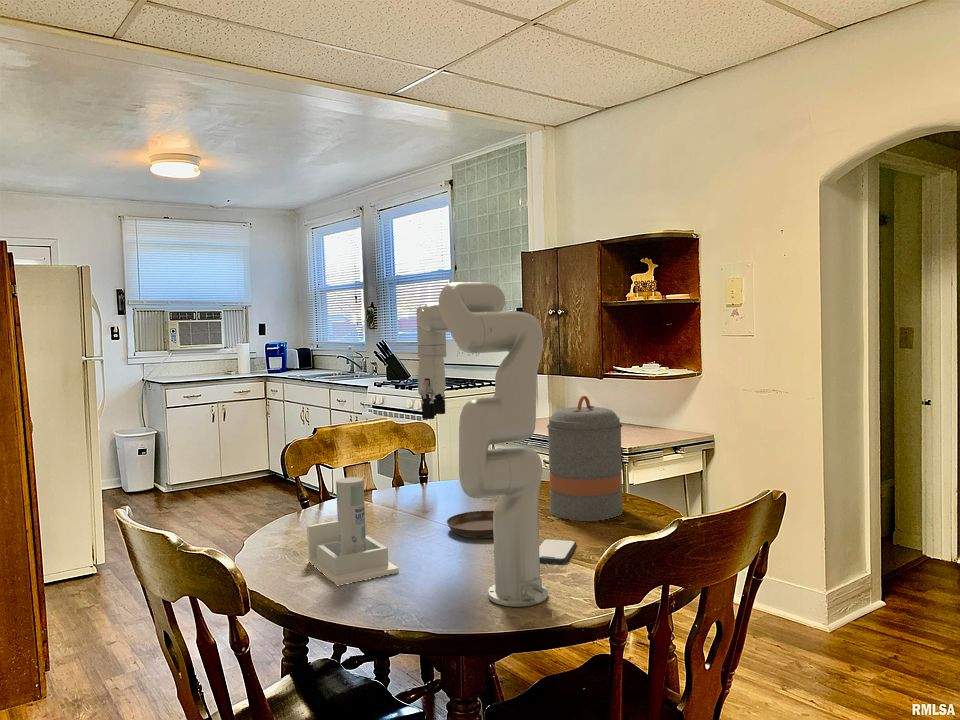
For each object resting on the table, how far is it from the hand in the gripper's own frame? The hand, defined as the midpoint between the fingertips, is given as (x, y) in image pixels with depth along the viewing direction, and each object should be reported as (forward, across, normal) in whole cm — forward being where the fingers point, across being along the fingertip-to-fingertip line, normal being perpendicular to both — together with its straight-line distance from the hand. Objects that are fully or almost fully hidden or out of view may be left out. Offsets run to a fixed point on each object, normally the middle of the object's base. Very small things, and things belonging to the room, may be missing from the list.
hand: (434, 416), depth 193 cm
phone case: (+34, +6, +32) cm, 47 cm away
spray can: (+32, +24, -14) cm, 43 cm away
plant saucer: (+34, -11, +10) cm, 37 cm away
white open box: (+33, +24, -14) cm, 43 cm away
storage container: (+34, -35, +36) cm, 60 cm away
